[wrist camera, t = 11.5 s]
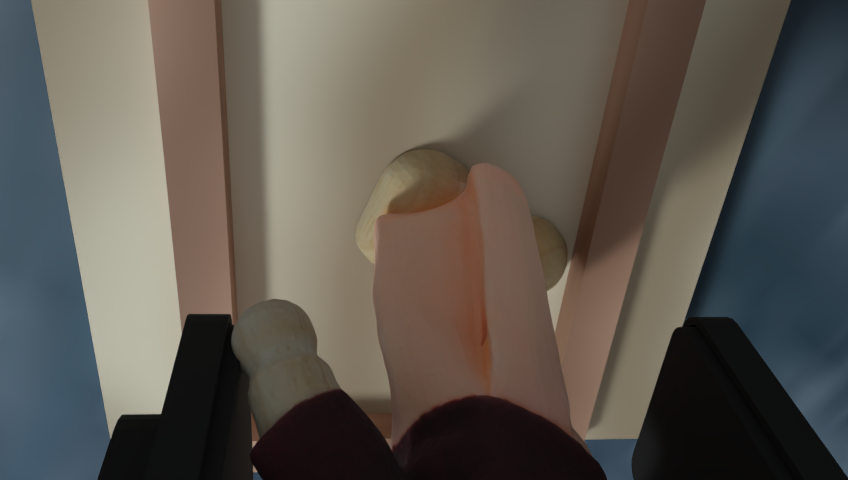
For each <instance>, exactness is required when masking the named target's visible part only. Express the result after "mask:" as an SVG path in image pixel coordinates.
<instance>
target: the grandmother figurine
mask: <svg viewBox="0 0 848 480" xmlns="http://www.w3.org/2000/svg"><path fill="white" fill-rule="evenodd" d="M355 237H356V243H357V245H358V247H359V249H360V250H361V251H362V253H363V254H364V255H365V256H366V257H367V259H368V260H369V261H371V262H372V263H373V264H374V278H373V304H374V309H375V314H376V322H377V334H378V340H379V345H380V348H381V351H382V354H383V358H384V363H385V367H386V370H387V375H388V380H389V385H390V393H391V409H392V434H391V443H390V446H389V445H388V443H387V441H386V440H385V438H384V436H383V435H382V433H381V432H380V431H379V429H378V428H377V427H376V426H375V424H374V423H373V422H372V421H371V419H370V418H369V417H368V416H367V415H366V413H365V412H364V411H363V410H362V409H361V408H360V407H359V406H358V405H357V404H356V403H355V401H354V400H353V399H352V398H351V397H350V396H349V395H348V394H347V393H346V392H344V391H343V390H342V389H341V387H340V386H339V384H338V383H337V381H336V379H335V376H334V374H333V372H332V369H331V368H330V366H329V365H328V364H327V363H326V362H325V361H324V360H323V359H321V358H320V357H319V356H318V355H317V336H316V333H315V330H314V327H313V325H312V322H311V320H310V318H309V317H308V315H307V314H306V312H305V311H304V310H303V309H302V308H301V307H299V306H298V305H296V304H294V303H292V302H290V301H288V300H280V299H271V300H267V301H262V302H259V303H257V304H255V305H253V306H251V307H250V308H248V309H247V310H245V311H244V312H243V313H242V314H241V315H240V317H239V319H238V320H237V322H236V324H235V325H234V329H233V333H232V337H231V345H232V350H233V353H234V354H235V356H236V358H237V359H238V360H239V361H240V367H241V370H242V371H243V372H244V373H245V375H246V376H247V377H248V378H249V379H250V386H249V390H248V404H249V407H250V410H251V412H252V415H253V418H254V421H255V424H256V427H257V431H258V434H259V438H260V439H259V440H258V441H257V443H256V444H255V446H254V447H253V448H252V450H251V452H250V459H251V462H252V464H253V466H254V467H255V469H256V470H257V472H258V473H259V475H260V477H261V478H262V479H263V480H607V478H606V475H605V473H604V471H603V469H602V468H601V466H600V464H599V463H598V462H597V461H596V460H595V459H594V458H593V457H592V455H591V453H590V451H589V449H588V447H587V446H586V444H585V442H584V441H583V439H582V438H581V437H580V436H579V434H578V433H577V432H576V431H575V430H574V429H573V427H572V424H571V418H570V406H569V400H568V395H567V391H566V386H565V381H564V377H563V372H562V368H561V363H560V357H559V351H558V346H557V342H556V337H555V332H554V328H553V323H552V318H551V313H550V308H549V302H548V296H547V291H549V290H550V289H552V288H553V287H554V286H555V285H557V283H558V282H559V281H560V279H561V278H562V276H563V274H564V272H565V269H566V266H567V258H568V250H567V244H566V242H565V239H564V237H563V236H562V235H561V233H560V232H559V231H558V229H557V228H556V227H555V226H554V225H553V224H552V223H551V222H549V221H548V220H546V219H544V218H541V217H538V216H533V215H531V214H530V210H529V207H528V203H527V200H526V197H525V194H524V192H523V190H522V188H521V186H520V185H519V183H518V182H517V180H516V178H514V177H513V176H512V175H511V174H510V173H508V172H507V171H505V170H503V169H501V168H499V167H497V166H494V165H491V164H488V163H480V164H476V165H474V166H472V167H471V170H470V172H469V170H468V169H467V168H466V167H465V166H464V165H463V164H461V163H460V162H458V161H456V160H455V159H454V158H452V157H451V156H449V155H447V154H445V153H442V152H440V151H436V150H430V149H419V150H412V151H409V152H406V153H404V154H402V155H401V156H399V157H398V158H396V159H394V160H393V161H392V162H391V163H390V164H389V165H388V166H387V167H386V169H385V170H384V172H383V173H382V175H381V177H380V179H379V181H378V183H377V185H376V187H375V189H374V191H373V193H372V195H371V197H370V199H369V201H368V204H367V205H366V207H365V209H364V211H363V213H362V215H361V217H360V219H359V221H358V224H357V227H356V233H355Z"/></svg>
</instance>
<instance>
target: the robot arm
mask: <svg viewBox="0 0 848 480" xmlns="http://www.w3.org/2000/svg"><path fill="white" fill-rule="evenodd" d="M233 329H234V325H232V318H231V315H230V314H188V315H187V317H186V320H185V324H184V328H183V332H182V335H181V339H180V343H179V347H178V351H177V355H176V358H175V362H174V366H173V370H172V374H171V378H170V381H169V385H168V389H167V393H166V397H165V401H164V405H163V408H162V412H161V414H125V415H121V416H120V418H119V419H118V421H117V423H116V425H115V428H114V430H113V433H112V437H111V440H110V443H109V446H108V449H107V452H106V455H105V458H104V461H103V464H102V467H101V470H100V473H99V477H98V480H253V464H252V462H251V459H250V452H251V450H252V425H251V410H250V407H249V404H248V390H249V386H250V380H249V378H248V377H247V376H246V375H245V373H244V372H243V371H242V370H241V367H240V361H239V360H238V359H237V358H236V356H235V354H234V353H233V350H232V345H231V337H232V333H233ZM632 474H633V478H634V480H848V477H847V476H846V475H845V473H844V472H843V470H842V469H841V468H840V466H839V465H838V463H837V462H836V461H835V459H834V458H833V456H832V455H831V454H830V452H829V451H828V449H827V448H826V447H825V445H824V444H823V443H822V441H821V440H820V438H819V437H818V436H817V434H816V433H815V431H814V430H813V429H812V427H811V426H810V424H809V423H808V422H807V420H806V419H805V417H804V416H803V415H802V413H801V412H800V410H799V409H798V408H797V406H796V405H795V404H794V402H793V401H792V399H791V398H790V397H789V395H788V394H787V392H786V391H785V390H784V388H783V387H782V385H781V384H780V383H779V381H778V380H777V378H776V377H775V376H774V374H773V373H772V371H771V370H770V369H769V367H768V366H767V365H766V363H765V362H764V360H763V359H762V358H761V356H760V355H759V353H758V352H757V351H756V349H755V348H754V346H753V345H752V344H751V342H750V341H749V339H748V338H747V337H746V335H745V334H744V332H743V331H742V330H741V328H740V327H739V326H738V324H737V323H736V322H735V321H734V320H733V319H731V318H728V317H691V318H689V319H688V320H687V321H686V322H685V324H684V326H683V327H677V328H676V329H675V330H674V331H673V333H672V336H671V339H670V342H669V345H668V348H667V351H666V354H665V357H664V360H663V363H662V366H661V370H660V373H659V376H658V379H657V382H656V385H655V388H654V391H653V394H652V397H651V400H650V403H649V406H648V410H647V413H646V416H645V419H644V422H643V425H642V428H641V431H640V434H639V437H638V440H637V443H636V446H635V449H634V453H633V456H632Z"/></svg>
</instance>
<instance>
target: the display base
mask: <svg viewBox="0 0 848 480" xmlns="http://www.w3.org/2000/svg"><path fill="white" fill-rule="evenodd" d="M31 2H32V7H33V13H34V18H35V24H36V29H37V35H38V40H39V46H40V52H41V57H42V63H43V68H44V74H45V79H46V85H47V90H48V96H49V101H50V107H51V112H52V118H53V123H54V129H55V135H56V140H57V146H58V151H59V157H60V162H61V168H62V173H63V179H64V184H65V190H66V195H67V201H68V207H69V212H70V218H71V223H72V229H73V234H74V240H75V245H76V251H77V256H78V262H79V267H80V273H81V278H82V284H83V290H84V295H85V301H86V306H87V312H88V317H89V323H90V328H91V334H92V339H93V345H94V350H95V356H96V361H97V367H98V373H99V378H100V384H101V389H102V395H103V400H104V406H105V411H106V417H107V422H108V428H109V433H110V439H111V437H112V433H113V430H114V428H115V425H116V423H117V421H118V419H119V418H120V416H121V415H125V414H161V412H162V408H163V405H164V401H165V397H166V393H167V389H168V385H169V381H170V378H171V374H172V370H173V366H174V362H175V358H176V355H177V351H178V347H179V343H180V339H181V335H182V332H183V328H184V324H185V320H186V317H187V315H188V314H230V315H231V318H232V325H235V324H236V322H237V320H238V319H239V317H240V315H241V314H242V313H243V312H244V311H245V310H247V309H248V308H250V307H251V306H253V305H255V304H257V303H259V302H262V301H267V300H271V299H280V300H288V301H290V302H292V303H294V304H296V305H298V306H299V307H301V308H302V309H303V310H304V311H305V312H306V314H307V315H308V317H309V318H310V320H311V322H312V325H313V327H314V330H315V333H316V336H317V355H318V356H319V357H320V358H321V359H323V360H324V361H325V362H326V363H327V364H328V365H329V366H330V368H331V369H332V372H333V374H334V376H335V379H336V381H337V383H338V384H339V386H340V387H341V389H342V390H343V391H344V392H346V393H347V394H348V395H349V396H350V397H351V398H352V399H353V400H354V401H355V403H356V404H357V405H358V406H359V407H360V408H361V409H362V410H363V411H364V412H365V413H366V415H367V416H368V417H369V418H370V419H371V421H372V422H373V423H374V424H375V426H376V427H377V428H378V429H379V431H380V432H381V433H382V435H383V436H384V438H385V440H386V441H387V443H388V445H389V446H390V443H391V434H392V409H391V393H390V385H389V380H388V375H387V370H386V367H385V363H384V358H383V354H382V351H381V348H380V345H379V340H378V334H377V322H376V314H375V309H374V304H373V278H374V264H373V263H372V262H371V261H369V260H368V259H367V257H366V256H365V255H364V254H363V253H362V251H361V250H360V249H359V247H358V245H357V243H356V237H355V233H356V227H357V224H358V221H359V219H360V217H361V215H362V213H363V211H364V209H365V207H366V205H367V204H368V201H369V199H370V197H371V195H372V193H373V191H374V189H375V187H376V185H377V183H378V181H379V179H380V177H381V175H382V173H383V172H384V170H385V169H386V167H387V166H388V165H389V164H390V163H391V162H392V161H393V160H394V159H396V158H398V157H399V156H401V155H402V154H404V153H406V152H409V151H412V150H419V149H430V150H436V151H440V152H442V153H445V154H447V155H449V156H451V157H452V158H454V159H455V160H456V161H458V162H460V163H461V164H463V165H464V166H465V167H466V168H467V169H468V170H469V172H470V170H471V167H472V166H474V165H476V164H480V163H488V164H491V165H494V166H497V167H499V168H501V169H503V170H505V171H507V172H508V173H510V174H511V175H512V176H513V177H514V178H516V180H517V182H518V183H519V185H520V186H521V188H522V190H523V192H524V194H525V197H526V200H527V203H528V207H529V210H530V214H531V215H533V216H538V217H541V218H544V219H546V220H548V221H549V222H551V223H552V224H553V225H554V226H555V227H556V228H557V229H558V231H559V232H560V233H561V235H562V236H563V237H564V239H565V242H566V244H567V250H568V258H567V266H566V269H565V272H564V274H563V276H562V278H561V279H560V281H559V282H558V283H557V285H555V286H554V287H553V288H552V289H550V290H549V291H547V296H548V302H549V308H550V313H551V318H552V323H553V328H554V332H555V337H556V342H557V346H558V351H559V357H560V363H561V368H562V372H563V377H564V381H565V386H566V391H567V395H568V400H569V406H570V418H571V424H572V427H573V429H574V430H575V431H576V432H577V433H578V434H579V436H580V437H581V438H582V439H583V441H585V439H635V438H638V437H639V434H640V431H641V428H642V425H643V422H644V419H645V416H646V413H647V410H648V406H649V403H650V400H651V397H652V394H653V391H654V388H655V385H656V382H657V379H658V376H659V373H660V370H661V366H662V363H663V360H664V357H665V354H666V351H667V348H668V345H669V342H670V339H671V336H672V333H673V331H674V330H675V329H676V328H677V327H682V326H683V323H684V320H685V317H686V314H687V311H688V308H689V305H690V302H691V299H692V296H693V293H694V290H695V287H696V284H697V281H698V278H699V275H700V272H701V269H702V266H703V263H704V260H705V257H706V254H707V251H708V248H709V245H710V242H711V239H712V236H713V233H714V230H715V227H716V224H717V221H718V218H719V215H720V212H721V209H722V206H723V203H724V200H725V197H726V194H727V191H728V188H729V185H730V182H731V179H732V176H733V173H734V170H735V167H736V164H737V161H738V158H739V155H740V152H741V149H742V146H743V143H744V140H745V137H746V134H747V131H748V128H749V125H750V122H751V119H752V116H753V113H754V110H755V107H756V104H757V101H758V98H759V95H760V92H761V89H762V86H763V83H764V80H765V77H766V74H767V71H768V68H769V65H770V62H771V59H772V56H773V53H774V50H775V47H776V44H777V41H778V38H779V35H780V32H781V29H782V26H783V23H784V20H785V17H786V14H787V11H788V8H789V5H790V2H791V0H31ZM249 380H250V379H249ZM251 425H252V448H253V447H254V446H255V444H256V443H257V441H258V440H259V439H260V438H259V434H258V431H257V427H256V424H255V421H254V418H253V415H252V412H251ZM253 472H257V470H256V469H255V467H254V466H253Z"/></svg>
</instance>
